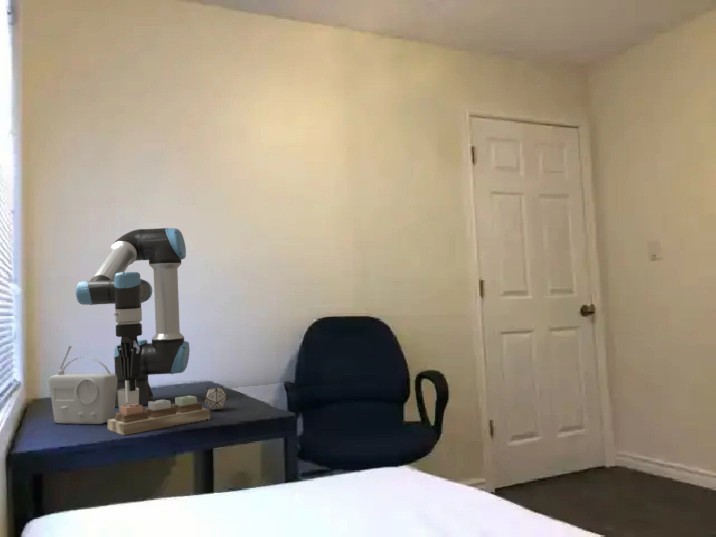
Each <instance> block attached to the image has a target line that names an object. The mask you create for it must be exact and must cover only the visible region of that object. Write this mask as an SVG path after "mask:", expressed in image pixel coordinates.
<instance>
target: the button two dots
mask: <svg viewBox="0 0 716 537" xmlns="http://www.w3.org/2000/svg"><path fill="white" fill-rule="evenodd" d="M171 404H172V403H171V400H167V399H157V400H154V401H151V402H148V407H147V408H148V409H151V410H161V409H167V408H171Z"/></svg>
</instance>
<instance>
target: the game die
mask: <svg viewBox="0 0 716 537" xmlns="http://www.w3.org/2000/svg"><path fill="white" fill-rule="evenodd" d="M206 389H207V392H206V395H205V397H203V399H204V400H202V402H201V403H204V404H206V406H207V409H209V410H210V411H211V410H213V411H214V410H221V409H222V410H223V411H225V408H224V407H225V403H226V401H227V400H228V398H229V395H227V394H226V393H225V391H224V389H223V385H221V387H216V388H209V387H208V386H207V387H206Z"/></svg>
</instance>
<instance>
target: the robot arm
mask: <svg viewBox="0 0 716 537" xmlns="http://www.w3.org/2000/svg"><path fill="white" fill-rule="evenodd" d="M186 256H187V248H186V241H185V239H184V235H183V233H182V231H181V230H180V229H178V228H173V227H162V228H139V229H134V230H130V231H128V232H127V233H125V234H123V235H122V236H120V237H119V238H117V239H116V240H115V241H114V242H113V243H112V244H111V246H110V248H109V254H108V255H107V257H106V259H105V260H104V261H103V262H102V264H101V266H100V267H99V268H98V269H97V271H96V272H95V273H94V274H93V276H92V278H91V279H90V280H83V281H79V282H77V285H76V287H75V297H76V300H77V302H78V303H79V304H80V305H82V306H84V305H87V306H88V305H90V306H93V305H113V304H114V310H115V311H114V314H113V315H114V317H115V323H117V324H116V325H115V336H116V337H117V338H120V343H119V344H117V345H116V346H115V347H114V356H113V360H114V374H116V376H117V390H119V389H125V397H126V402H134V401H136V388H139V405H143V406H147V405H148V402H151V401H155V397H154V393H153V391H152V388H151V386H150V382H149V376H151V375H152V376H153V375H169V374H170V375H174V374H181V373H184V372H185V371H186V369H187V367H188V364H189V360H190V349H191V348H190V343H189V341H186V340H185V336H184V335H183V334H182V333H181V332H180V331H181V329H180V304H179V303H180V302H179V276H178V274H179V273H178V269H179V267H180V266H181V265H182V260H184V259H186ZM137 261H148V266H149V267H150V268H152V269H153V286H152V285H151V283H150V282H149V281H147V280H145V279H142V278H141V274H140V272H138V271H127V269H128V267H129V266H130V265H132V264H134V262H137ZM153 289H154V290H153ZM153 291H154V292H153ZM153 294H154V319H155V320H154V321H155V322H154V324H155V334H154V335H153V337H152V338H151V342H150V343H149V341H148V340H147V339H139V340H138V336H139V337H140V336H142V335H143V324H142V323H141V322H142V320H143V316H142V315H143V312H142V311H143V310H142V304H143V303H145V302H147V301H148V300H150V299H151V298H152V295H153ZM117 390H116V400H115V408H118V395H117Z"/></svg>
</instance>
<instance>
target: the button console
mask: <svg viewBox="0 0 716 537" xmlns="http://www.w3.org/2000/svg"><path fill="white" fill-rule="evenodd" d="M206 419H208V420H210V419H211V410H209V408H204V407H203V402H199V401H197V404H191V405H185V406H180V405H176V404H175V402H174V403H171V408H167V409H161V410H151V409H148V407H143V413H136V414H130V415H124V414H120V412H119V411H118V412H114V418H113V419H108V420H107V422H106V423H107V430H109V431H111V432H114V433H117V434H119V435H122V436H127V435H132V434H136V433H143V432H149V431H153V430H158V429H164V428H170V427H175V425H176V426H179V425H180V424H181V425H186V424H190V423H191V422H192V423H197V422H202V421H206ZM201 420H202V421H201ZM196 421H197V422H196ZM185 423H186V424H185ZM181 425H180V426H181Z"/></svg>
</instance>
